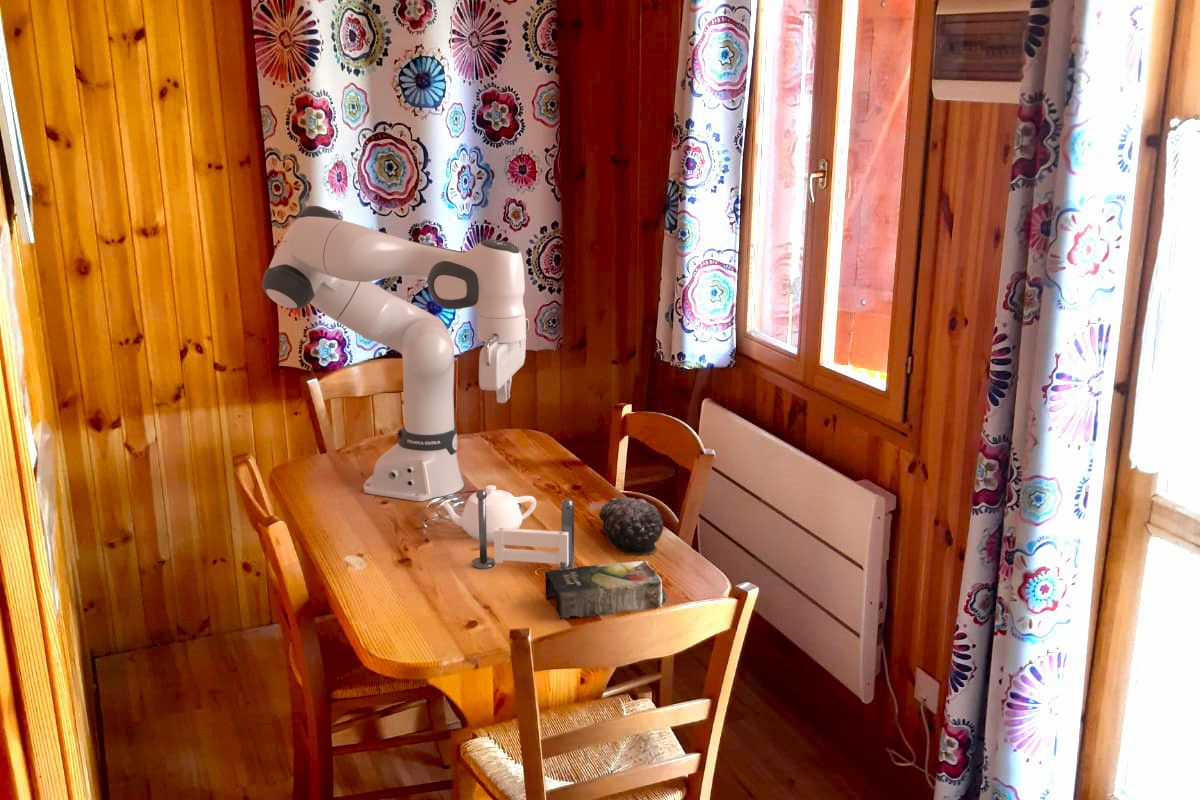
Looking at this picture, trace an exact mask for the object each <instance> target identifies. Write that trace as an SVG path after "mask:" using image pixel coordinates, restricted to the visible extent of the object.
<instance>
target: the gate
mask: <svg viewBox="0 0 1200 800" xmlns="http://www.w3.org/2000/svg"><path fill="white" fill-rule="evenodd" d="M493 546H494V547H493V548H494V550H493V551H494V560H495V563H499V564H500V563H501V564H503V563H504V561H511V562H526V563H538V564H540V563H544V564H556V565H558V567H559V568H560V569H568V568H567V566H568V564H569V533H568V532H564V531H562V530H559V531H555V530H541V529H524V528H519V529H511V528H498V527H496V528H495V530H494V541H493ZM505 546H520V547H532V548H533V547H535V548H550V549H551V548H552V549H558V551H552V550H551V551H550V550H534V549H520V548H519V549H518V548H505Z"/></svg>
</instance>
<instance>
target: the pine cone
mask: <svg viewBox="0 0 1200 800" xmlns="http://www.w3.org/2000/svg"><path fill="white" fill-rule="evenodd" d="M598 516H599V517H598V518H599V519H600V520H601V521H602V523H603V525H602V529H603V532H605V533H606V535H605V536H606V538H607V541H609V543H610V544H611V545H612V546H614V547H615V548H616V549H617V550H618V551H619V552H621V553H623V554H625V555H636V556H637V555H640V556H642V555H649V554H654V553H656V552H658V551H657V550H658V547H656V545H655V543H657V542H658V541H659V540H660V538H661V536H662V534H663V529H664V522H663V518H662V515H661V513H660V512H659V510H658V509H657V507H656V506H655V505H653V504H652V503H649V502H647V501H646V500H645V499H643V498H639V499H636V498H634V497H629V496H628V497H627V496H626V497H615V498H611V499H610V500H609V502H605V503H604V504H603V506H602V507H601V509H600V511H599V513H598Z"/></svg>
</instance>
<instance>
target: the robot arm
mask: <svg viewBox="0 0 1200 800" xmlns="http://www.w3.org/2000/svg"><path fill="white" fill-rule="evenodd" d="M294 219H295V220H294V222H293V223H292V224H291V226H290V227H289V228H288V230H287V231H286V232H285V234H284V235H283V237H282V238H281V240H280V241H279V243H278V244H279V245H278V248H277V249H276V251H275V253H274V255H273V256H272V260H271V262H270V264H269V266H268V268H267V269H266V270H265V272H264V275H263V276H262V277H263V278H262V282H261V286H262V289H263V291H264V293H265V294H266V296H267V297H268V298H270V299H271V300H272V301H273V302H274V303H276V304H277V305H279V306H281V307H284V308H287V309H291V310H300V309H305V307H307V306H308V305H309V304H310V305H311V306H312V307H314V308H315V309H317V310H318V311H320V312H321V313H322V314H324V315H326V316H327V317H328V318H330V319H333V321H335V322H337V323H339V324H341V325H342V326H344V327H346V328H347V329H349V330H351V331H353V332H354V333H356V334H358V335H360V336H362V337H363V338H365V339H367V340H370V341H373V342H375V343H378V344H380V345H383V346H386V347H388V348H390V349H392V350H394V351H396V352H398V353H399V354H401V356H402V375H403V376H402V380H403V381H402V383H403V385H402V388H403V391H402V392H403V394H402V396H403V397H402V398H403V412H404V413H403V416H404V423H403V424H402V425H401V426H400V428H399V429H398V430H397V431H396V433H395V434H394V436H395V437H394V439H395V440H397V443H395V444H394V445H393V446H392V447H391V448H389V449H388V450H386V451H385V452H384V453H383V454H382V455H381V456H379V458H377V460H376V462H375V464H374V467H373V473H372V475H371V476H369V477H368V478H367V479H366V481H365V482H364V483H363V489H364V490H363V492H364V493H365V494H370V495H376V496H383V497H390V498H394V499H400V500H401V499H402V500H406V501H407V500H409V501H414V502H424V501H427V500H430V499H434V498H438V497H439V498H440V497H446V496H449V495H452V494H455V493H457V492H459V491H461V490H462V489H463V488H464V485H465V482H464V480H463V477H462V473H461V470H460V467H459V461H458V454H457V453H458V452H457V451H458V446H459V445H458V444H459V443H458V433H457V432H458V430H457V425H456V424H455V404H454V401H455V400H454V386H455V385H454V383H455V345H454V342H453V339H452V337H451V335H450V332H449V331H448V328H447V326H446V325H445V323H444V321H442V320H441V319H440V318H439V317H438V316H435V315H433V314H432V313H430V312H429V311H427V310H424V309H423V308H420V307H419V306H417V305H414V304H413V303H411V302H408V301H407V300H405V299H402V298H400V297H398V296H396V295H394V294H393V293H391V292H389V291H387V290H385V288H384V289H383V288H382V287H380V286H378V285H377V284H376V283H374V282H373V281H378V280H383V279H387V278H392V277H398V276H419V277H424V278H427V288H428V292H429V294H430V296H431V298H432V300H433V301H434V302H435V303H436V304H437V306H439V307H441V308H442V309H445V310H453V311H454V310H456V311H457V310H462V309H467V308H475V310H476V313H477V339H478V340H479V341H481V342H484V346H483V347H482V348H481V349H480V351H479V359H478V384H479V388H480V390H483V391H495V394H496V402H497V404H498V403H499V404H505V403H507V401H508V400H509V399H510V397H511V394H510V393H511V386H512V380H513V379H512V377H513V376H514V375H515V374H516V373H517V372H518V371H519V370H520V369H521V368H522V367H523V366H524V363H525V359H526V350H527V331H529V328H530V321H529V319H528V318H526V309H525V306H524V295H525V291H526V283H525V266H524V260H523V256H522V255H523V254H522V253H521V250H520V249H519V247H518V246H516V245H515V244H514V243H511V242H509V241H505V240H501V239H484V240H481V241H479V243H477V245H475V246H474V247H472V248H470V249H469V250H465V251H463V250H456V249H451V248H446V247H441V246H438V245H431V244H427V243H423V242H418V241H413V240H409V239H405V238H402V237H399V236H395V235H392V234H388V233H385V232H382V231H378V230H376V229H372V228H370V227H367V226H363V225H360V224H357V223H354V222H349V221H346V220H343V219H341V218H340V217H339V216H338V215H337V214H336V213H334V212H333V211H331V210H330V209H328V208H325V207H323V206H319V205H308V206H305V208H303V209H302V210H301V211H300V212H299V213H298V215H296V217H295V218H294Z"/></svg>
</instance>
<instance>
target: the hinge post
mask: <svg viewBox="0 0 1200 800" xmlns="http://www.w3.org/2000/svg"><path fill="white" fill-rule="evenodd" d="M485 490H486V489H482V488H481V489H478V490H477V491H476V492H477V493H476V492H475V493H476V496H477V498H478V517H479V540H478V544H479V545H478V547H479V549H478V550H479V557H476V558H474V559H473V560H471V566H472V568H474V569H476V570H489V569H492V568H493V567H495V565H496V562H495V558H493V557H490V556H488V545H487V544H488V542H487V536H486V501H485V498H486V497H487V493H486V491H485Z"/></svg>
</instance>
